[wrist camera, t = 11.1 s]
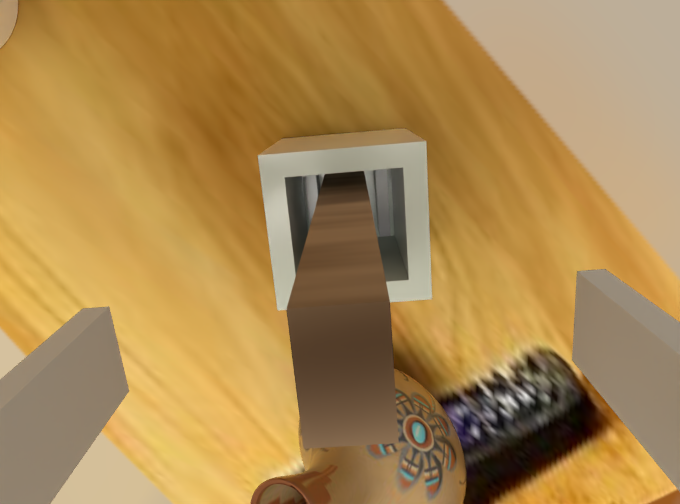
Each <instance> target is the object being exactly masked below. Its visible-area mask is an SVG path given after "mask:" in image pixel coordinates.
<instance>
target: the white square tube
mask: <svg viewBox="0 0 680 504" xmlns="http://www.w3.org/2000/svg"><path fill="white" fill-rule="evenodd" d="M258 162H259V169H260V177H261V185H262V193H263V201H264V208H265V216H266V224H267V232H268V240H269V247H270V255H271V263H272V271H273V278H274V286H275V294H276V302H277V310H287V305H288V302H289V298H290V295H291V291H292V288H293V284H294V281H295V277H296V274H297V270H298V266H299V263H300V259H301V256H302V252H303V249H304V245H305V242H306V238H307V235H308V231H309V228H310V224H311V221H312V217H313V214H314V210H315V207H316V203H317V200H318V196H319V193H320V189H321V186H322V182H323V179H324V175H325V174H331V173H343V172H355V171H364V174H365V179H366V184H367V189H368V194H369V199H370V204H371V209H372V214H373V219H374V224H375V229H376V234H377V239H378V244H379V249H380V254H381V259H382V264H383V269H384V274H385V279H386V284H387V289H388V294H389V300H390V302H401V301H414V300H428V299H432V282H431V255H430V228H429V201H428V174H427V147H426V141H425V140H424V139H422V138H420V137H419V136H417V135H416V134H414V133H413V132H411V131H409V130H408V129H406V128H399V129H387V130H376V131H364V132H352V133H340V134H329V135H317V136H305V137H294V138H282V139H280V140H279V141H278V142H276V143H275V144H273V145H272V146H270V147H269V148H268V149H266V150H265V151H263V152H262V153H260V154H259V155H258Z"/></svg>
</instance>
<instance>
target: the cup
mask: <svg viewBox="0 0 680 504" xmlns="http://www.w3.org/2000/svg"><path fill="white" fill-rule="evenodd" d="M17 14H18V0H0V48H1V47H2V46H3V45H4V44H5V43H6V41H7V40H8V39H9V37H10V35H11V34H12V31H13V29H14V27H15V24H16V19H17Z"/></svg>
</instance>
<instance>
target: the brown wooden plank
mask: <svg viewBox="0 0 680 504" xmlns="http://www.w3.org/2000/svg"><path fill="white" fill-rule="evenodd" d="M287 317H288V325H289V334H290V342H291V350H292V358H293V366H294V374H295V382H296V390H297V399H298V407H299V415H300V423H301V431H302V439H303V447H304V449H310V448H326V447H342V446H358V445H374V444H390V443H399V441H398V425H397V409H396V393H395V377H394V360H393V344H392V328H391V312H390V300H389V294H388V289H387V284H386V279H385V274H384V269H383V264H382V259H381V254H380V249H379V244H378V239H377V234H376V229H375V224H374V219H373V214H372V209H371V204H370V199H369V194H368V189H367V184H366V179H365V174H364V171H355V172H343V173H331V174H325V175H324V179H323V182H322V186H321V189H320V193H319V196H318V200H317V203H316V207H315V210H314V214H313V217H312V221H311V224H310V228H309V231H308V235H307V238H306V242H305V245H304V249H303V252H302V256H301V259H300V263H299V266H298V270H297V274H296V277H295V281H294V284H293V288H292V291H291V295H290V298H289V302H288V305H287Z"/></svg>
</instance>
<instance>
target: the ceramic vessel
mask: <svg viewBox="0 0 680 504" xmlns="http://www.w3.org/2000/svg"><path fill="white" fill-rule="evenodd" d="M394 377H395V393H396V409H397V425H398V441H399V443H390V444H374V445H358V446H342V447H326V448H310V449H304V447H303V439H302V431H301V423H300V420H299V445H300V452H301V456H302V461H303V464H304V467H305V470H306V471H305V472H303V473H300V474H295V475H289V476H281V477H275V478H272V479H269V480H266V481H265V482H263V483H262V484H260V485H259V486H258V488H257V489H256V490H255V492H254V494H253V496H252V499H251V504H463V501H464V497H465V491H466V465H465V458H464V454H463V450H462V446H461V443H460V440H459V437H458V435H457V432H456V430H455V428H454V426H453V424H452V422H451V420H450V418H449V417H448V415H447V414H446V412H445V411H444V409H443V408H442V406H441V405H440V404H439V402H438V401H437V400H436V399H435V398H434V396H433V395H432V394H431V393H430V392H429V391H428V390H427V389H426V388H425V387H423V386H422V385H421V384H420V383H419V382H417V381H416V380H415V379H413V378H412V377H410V376H409V375H407V374H406V373H404V372H402V371H400V370H398V369H396V368H394Z"/></svg>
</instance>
